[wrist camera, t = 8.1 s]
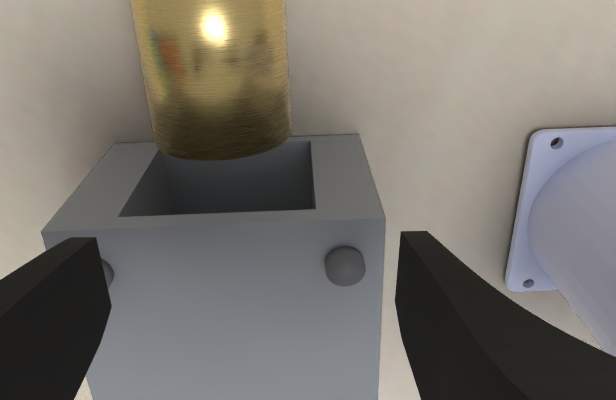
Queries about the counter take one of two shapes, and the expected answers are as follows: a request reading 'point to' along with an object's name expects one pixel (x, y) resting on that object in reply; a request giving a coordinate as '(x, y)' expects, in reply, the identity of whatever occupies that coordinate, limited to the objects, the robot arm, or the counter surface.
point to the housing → (235, 272)
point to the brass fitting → (215, 75)
